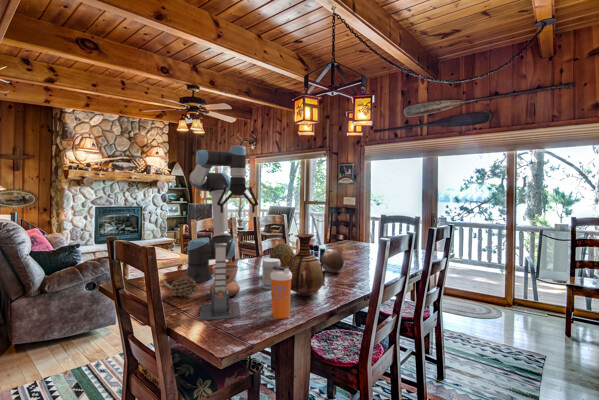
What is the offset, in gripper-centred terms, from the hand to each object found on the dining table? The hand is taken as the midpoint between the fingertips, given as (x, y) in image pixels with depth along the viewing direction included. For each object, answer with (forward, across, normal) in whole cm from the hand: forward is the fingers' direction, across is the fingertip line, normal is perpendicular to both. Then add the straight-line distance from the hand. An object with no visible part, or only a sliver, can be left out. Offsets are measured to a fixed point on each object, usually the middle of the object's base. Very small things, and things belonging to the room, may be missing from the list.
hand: (237, 219), depth 164 cm
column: (+28, -8, -26) cm, 39 cm away
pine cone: (+37, -28, +1) cm, 47 cm away
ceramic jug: (+37, -6, -2) cm, 38 cm away
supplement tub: (+37, +18, +5) cm, 41 cm away
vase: (+37, +32, -12) cm, 50 cm away
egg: (+37, +28, +28) cm, 54 cm away
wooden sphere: (+37, +61, +30) cm, 78 cm away
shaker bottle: (+37, +16, -35) cm, 53 cm away
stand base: (+37, -8, -26) cm, 45 cm away
